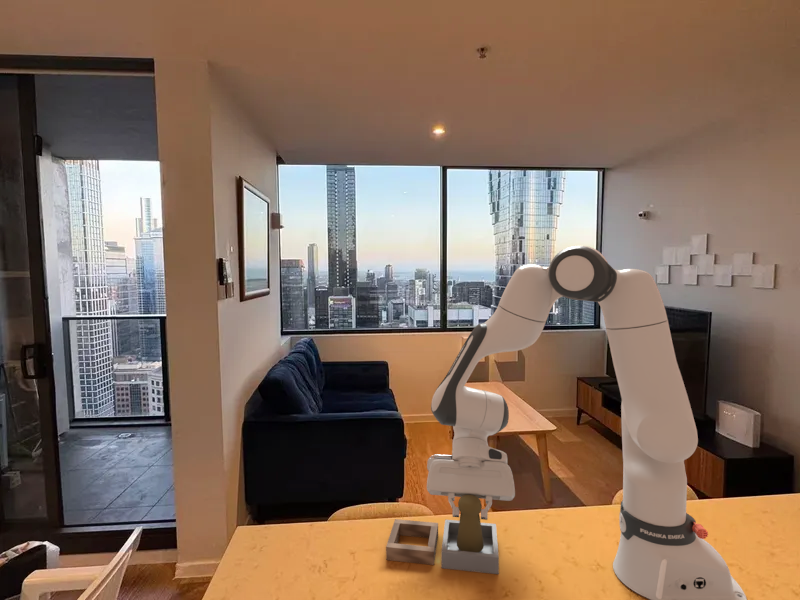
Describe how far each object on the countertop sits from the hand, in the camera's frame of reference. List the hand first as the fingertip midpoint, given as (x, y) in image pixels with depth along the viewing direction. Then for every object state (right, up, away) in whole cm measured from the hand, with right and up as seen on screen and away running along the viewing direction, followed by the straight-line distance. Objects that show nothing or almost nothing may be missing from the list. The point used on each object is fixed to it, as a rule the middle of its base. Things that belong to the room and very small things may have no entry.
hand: (469, 517), depth 93 cm
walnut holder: (-13, -9, +3) cm, 16 cm away
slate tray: (0, -9, +1) cm, 9 cm away
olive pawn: (0, -7, +1) cm, 7 cm away
